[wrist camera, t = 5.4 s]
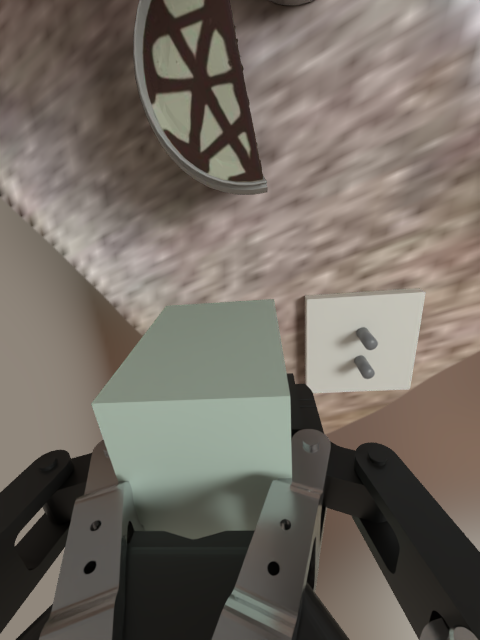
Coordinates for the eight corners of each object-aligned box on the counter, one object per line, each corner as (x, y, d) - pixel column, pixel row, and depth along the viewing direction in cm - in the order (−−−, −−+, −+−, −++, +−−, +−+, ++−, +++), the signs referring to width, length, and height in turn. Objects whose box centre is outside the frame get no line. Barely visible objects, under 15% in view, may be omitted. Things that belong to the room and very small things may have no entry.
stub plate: (304, 295, 30) (311, 308, 27) (419, 288, 29) (440, 300, 26) (304, 386, 34) (310, 408, 31) (404, 382, 33) (421, 404, 30)
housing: (166, 305, 14) (90, 403, 8) (273, 299, 14) (290, 396, 7) (191, 436, 17) (153, 583, 11) (279, 434, 17) (294, 585, 10)
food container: (151, 40, 23) (80, -63, 14) (229, 13, 22) (211, -116, 13) (197, 209, 27) (168, 217, 18) (264, 192, 26) (268, 192, 17)
